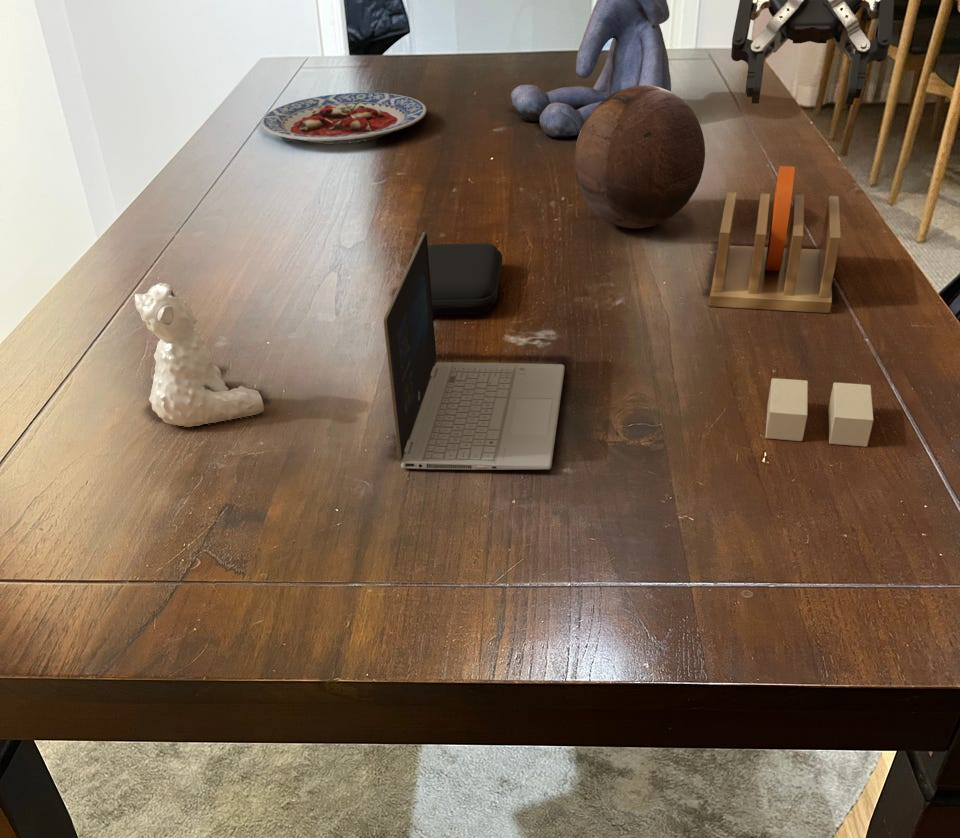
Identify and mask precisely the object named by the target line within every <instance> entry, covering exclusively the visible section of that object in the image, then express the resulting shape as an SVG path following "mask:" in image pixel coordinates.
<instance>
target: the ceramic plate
mask: <svg viewBox="0 0 960 838" xmlns="http://www.w3.org/2000/svg"><path fill="white" fill-rule="evenodd" d="M426 113H427V107H426V105H425V104H424V103H423V102H421V101H419V100H418V99H415V98H413V97H410V96H405V95H400V94H396V93H395V94H394V93H387V92H347V93H346V92H345V93H336V94H327V95H320V96H313V97H310V98H305V99H300V100H296V101H292V102H289V103H287V104H283V105H281V106H278V107H276V108H274V109H272V110H270V111H269V112H267V113H266V114H265V115H264V116H263V118H262V120H261V125H262V127H263V130H265V131H266V132H267V133H270V134H272V135H275V136H278V137H281V138H285V139H292V140H299V141H303V142H306V141H308V142H307V143H312V142H314V144H319V143H347V144H350V143H349V142H355V143H358V142H357V141H362V142H365V141H364V140H368V141H370V140H369V139H372V140H375V139H374V138H376V139H378V138H377V137H379V138H382V137H384V135H385V136H387V135H389V134H391V133H393V131H394V132H397V131H400V130H403V129H406V128H408V127H411V126H413V125H415V124H416V123H418V122H419V121H421V120H422V119H423V118H424V117H425V116H426ZM381 136H382V137H381Z"/></svg>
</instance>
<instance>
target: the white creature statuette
mask: <svg viewBox="0 0 960 838" xmlns="http://www.w3.org/2000/svg"><path fill="white" fill-rule="evenodd" d="M134 304H135V305H134V306H135V309H136V310H137V311H138V313H139V315H140V318H141V320H142V321H143V322H145V325H146V328H147V329H148V331H149V332H152V333H153V334H154V335H155V336H156V338H158V339H159V341H157V343H156V349H155V352H154V354H153V358H154V360H155V366H154V371H155V373H154V374H153V376H152V378H153V380H152V381H153V382H152V385H151V390H150V395H149V398H148V400H149V402H150V404H151V409H152V411H153V412H155V413H156V414H157V416H158V418H160V419H161V420H162V421H163V422H164V423H165V424H168V425H171V426H172V425H173V426H176V425H178V426H188V427H189V426H195V425H201V424H208V423H210V422H211V423H215V422H217V421H221V420H229V419H230V420H229V421H232V420H231V419H234V418H239V417H245V416H251V415H256V414H258V415H260V414H261V413H263V412H264V411H265V408H264V401H263V398H262V395H261V394H260V393H259V391H258V390H257V389H252V388H248V387H245V386H243V385H239V387H237V388H236V387H235V388H231V389H229V387H227V385H226V382H225V381H224V380H223V377H222V375H223V374H222V372H221V369H220V368H219V367H218V366H217V365H215V364H214V359H213V357H212V353H211V351H210V350H209V348H208V347H206V346H205V344H204V341H203V339H202V338H201V337H200V334H199V333H198V331H197V330H196V329H195V325H196V324H197V323H198V318H197V316H196V315H194V313H193V310H191V307H190V305H188V300H187V298H185V297H183V296H179V295H178V294H177V293H176V292H175V291H174V290H173V286H172V285H170V284H169V283H166V282H165V283H163V282H158V283H157V284H155V285H152V286H151V287H150V288H149V290H148V291H147V292H146V293H135V294H134ZM256 416H257V415H256ZM251 417H252V416H251ZM245 418H246V417H245ZM215 424H216V423H215ZM208 425H209V424H208ZM178 426H177V427H178Z"/></svg>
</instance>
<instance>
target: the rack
mask: <svg viewBox="0 0 960 838" xmlns="http://www.w3.org/2000/svg"><path fill="white" fill-rule="evenodd" d="M759 195H760V196H759V203H758V210H757V220H756V225H755V231H754V232H755V234H754V240H753V246H747V245H731V242H732V235H733V227H734V220H735V219H734V218H735V212H736V203H737V192H730V191H729V192H726V197H725V203H724V208H723V213H722V218H721V224H720V229H719V234H718V244H717V253H716V261H715V265H714V271H713V276H712V282H711V288H710V291H709V292H710V293H709V299H708V307H714V308H729V309H730V308H731V309H750V310H764V311H765V310H767V311H781V312H782V311H783V312H784V311H785V312H800V313H819V314H821V313H822V314H830V313H831V309H832V304H833V289H832V286H833V281H834V275H835V270H836V265H837V260H838V255H839V250H840V245H841V239H842V233H841V215H840V213H841V211H840V197H839V195H828V199H827V205H826V211H825V216H824V220H823V226H822V232H821V238H820V245H819V248H818V249H815V248H814V249H812V248H802V247H803V240H804V228H805V227H804V225H805V219H804V218H805V195H804V194H794V195H793V196H794V197H793V203H792V207H791V209H792V210H791V213H790V220H789V221H790V222H789V226H788V233H787V235H788V236H787V239H786V245H785V248H784V254H783V260H782V265H781V269H780V271H766V270H765V266H766V257H767V249H768V246H766V240H767V232H768V224H769V223H768V222H769V211H770V201H771V193H760V194H759Z"/></svg>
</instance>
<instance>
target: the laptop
mask: <svg viewBox="0 0 960 838" xmlns="http://www.w3.org/2000/svg"><path fill="white" fill-rule="evenodd" d="M428 245H429V244H428V234H427V233H426V231H425V230H424V231H423V232H422V234H421V236H420V238H419V240H418V242H417V244H416V247H415V249H414V251H413V253H412V255H411V258H410V260H409V261H408V264H407V266H406V269H405V271H404V272H403V275H402V277H401V279H400V281H399V283H398V286H397V287H396V290H395V293H394V294H393V296H392V299H391V300H390V303H389V305H388V308H387V310H386V311H385V314H384V316H383V331H384V339H385V349H386V358H387V367H388V377H389V384H390V393H391V394H390V395H391V403H392V413H393V422H394V423H393V424H394V431H395V440H396V449H397V459H398V461H399V462H401V464H400V468H401V469H411V470H413V469H416V470H464V471H465V470H469V471H470V470H472V471H474V470H478V471H479V470H482V471H484V470H489V471H490V470H491V471H492V470H494V471H495V470H497V471H499V470H501V471H502V470H503V471H504V470H505V471H506V470H507V471H508V470H510V471H511V470H516V471H517V470H518V471H519V470H550V469H552V464H553V457H554V448H555V441H556V434H557V428H558V427H557V426H558V419H559V412H560V407H561V406H560V405H561V397H562V392H563V385H564V377H565V369H566V366H565V365H564V364H563V363H517V362H515V363H512V362H461V361H460V362H459V361H458V362H457V361H456V362H454V361H453V362H452V361H449V362H448V361H438V362H437V349H436V337H435V336H436V335H435V322H434V321H435V320H434V315H433V308H432V295H431V282H430V270H429V257H428Z"/></svg>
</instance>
